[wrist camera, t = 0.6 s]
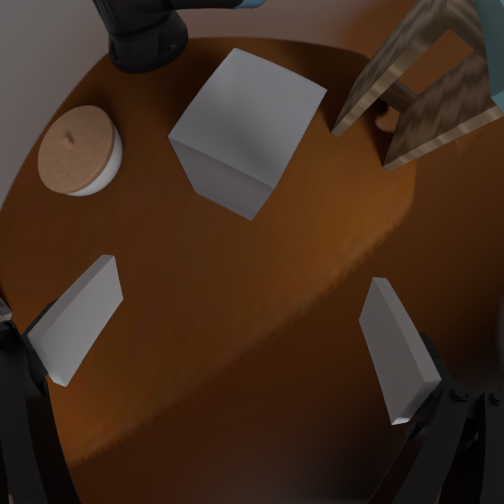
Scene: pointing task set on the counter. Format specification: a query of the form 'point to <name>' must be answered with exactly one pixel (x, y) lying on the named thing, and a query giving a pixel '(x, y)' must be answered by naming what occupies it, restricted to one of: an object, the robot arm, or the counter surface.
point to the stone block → (244, 130)
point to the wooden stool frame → (437, 94)
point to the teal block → (493, 44)
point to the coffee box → (4, 311)
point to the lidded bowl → (80, 152)
